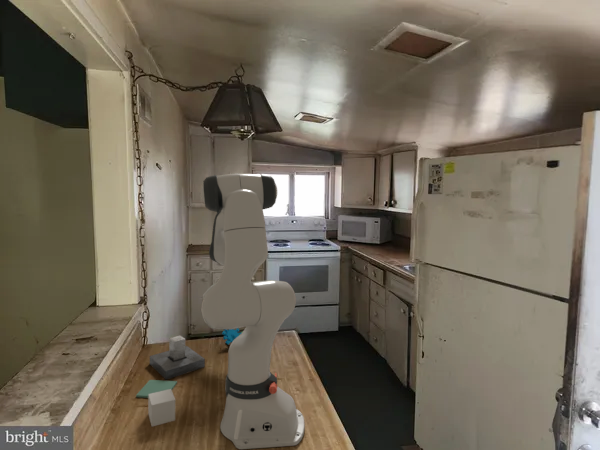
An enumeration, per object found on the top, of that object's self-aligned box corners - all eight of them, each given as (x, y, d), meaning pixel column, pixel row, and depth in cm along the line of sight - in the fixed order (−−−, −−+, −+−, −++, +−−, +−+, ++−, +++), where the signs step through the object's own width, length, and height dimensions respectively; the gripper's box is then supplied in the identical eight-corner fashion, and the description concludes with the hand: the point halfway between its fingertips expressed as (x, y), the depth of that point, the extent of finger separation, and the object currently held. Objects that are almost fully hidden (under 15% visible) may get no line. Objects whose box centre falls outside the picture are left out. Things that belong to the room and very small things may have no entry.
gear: (230, 348, 139) (220, 325, 144) (221, 355, 142) (212, 333, 146) (249, 343, 148) (240, 322, 153) (241, 350, 151) (232, 329, 155)
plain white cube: (151, 427, 94) (151, 405, 93) (148, 414, 99) (148, 394, 99) (175, 420, 97) (175, 399, 96) (170, 408, 102) (171, 388, 102)
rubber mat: (177, 383, 116) (177, 381, 115) (165, 398, 107) (165, 397, 106) (149, 381, 116) (149, 379, 116) (136, 397, 107) (136, 395, 107)
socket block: (186, 353, 137) (186, 345, 137) (204, 366, 127) (204, 358, 127) (149, 364, 127) (149, 356, 127) (166, 379, 117) (166, 371, 117)
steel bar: (179, 361, 130) (180, 335, 129) (184, 366, 127) (185, 338, 126) (169, 365, 127) (169, 338, 126) (174, 369, 124) (174, 341, 123)
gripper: (212, 276, 146) (190, 304, 140) (241, 287, 131) (217, 318, 125) (222, 285, 149) (200, 313, 143) (250, 297, 135) (227, 328, 129)
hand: (208, 315), depth 134 cm, fingers open, 8 cm apart
